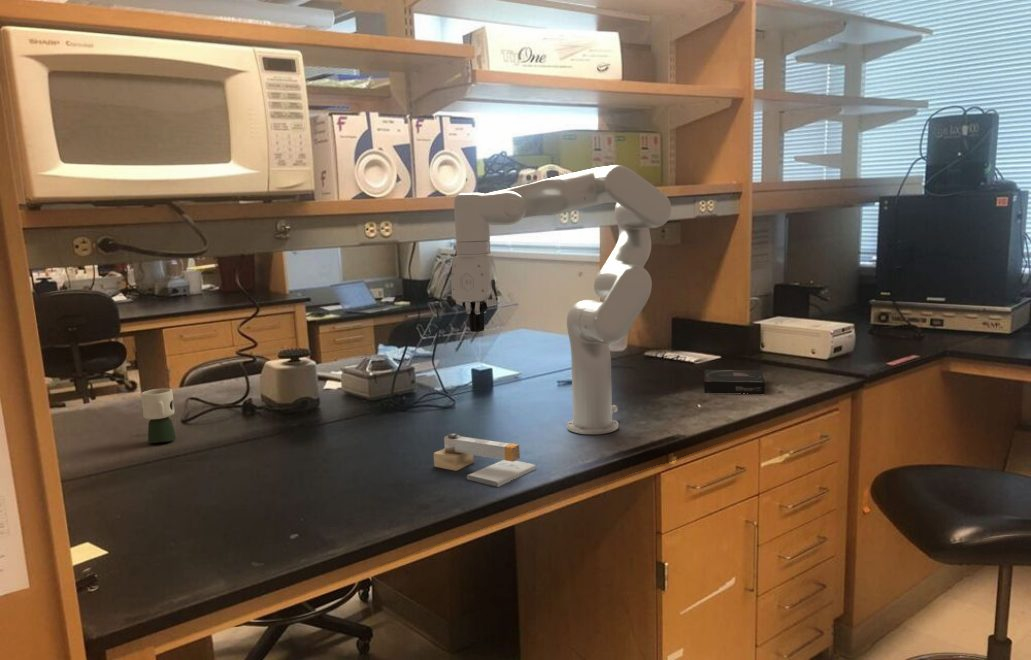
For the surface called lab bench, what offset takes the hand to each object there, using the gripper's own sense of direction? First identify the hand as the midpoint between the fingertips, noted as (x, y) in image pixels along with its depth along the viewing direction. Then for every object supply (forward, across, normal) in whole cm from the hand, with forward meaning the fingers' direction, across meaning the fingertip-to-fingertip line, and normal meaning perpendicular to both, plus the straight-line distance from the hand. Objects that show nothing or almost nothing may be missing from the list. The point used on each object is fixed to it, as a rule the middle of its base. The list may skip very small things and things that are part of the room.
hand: (477, 331), depth 172 cm
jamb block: (+27, +2, -13) cm, 30 cm away
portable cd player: (+28, +31, +81) cm, 91 cm away
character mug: (+27, -75, -34) cm, 87 cm away
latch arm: (+24, +9, -13) cm, 28 cm away
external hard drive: (+28, +15, -13) cm, 34 cm away
